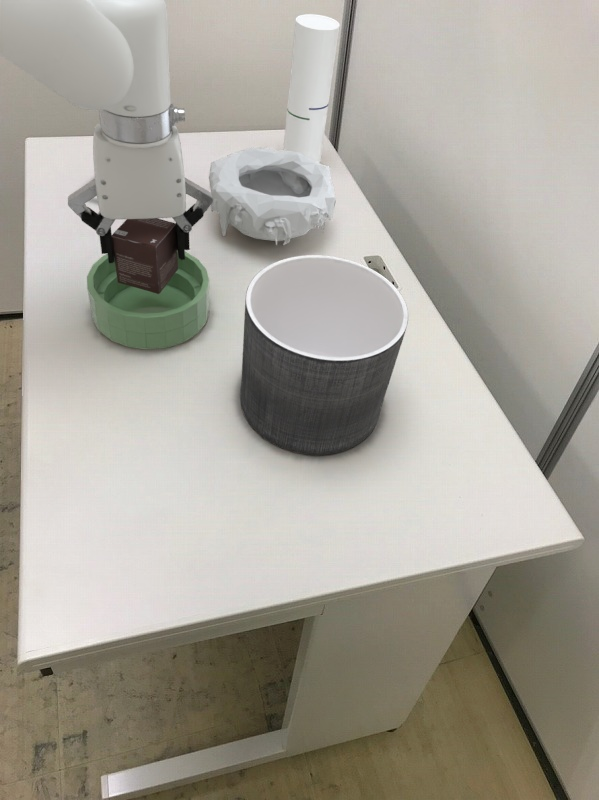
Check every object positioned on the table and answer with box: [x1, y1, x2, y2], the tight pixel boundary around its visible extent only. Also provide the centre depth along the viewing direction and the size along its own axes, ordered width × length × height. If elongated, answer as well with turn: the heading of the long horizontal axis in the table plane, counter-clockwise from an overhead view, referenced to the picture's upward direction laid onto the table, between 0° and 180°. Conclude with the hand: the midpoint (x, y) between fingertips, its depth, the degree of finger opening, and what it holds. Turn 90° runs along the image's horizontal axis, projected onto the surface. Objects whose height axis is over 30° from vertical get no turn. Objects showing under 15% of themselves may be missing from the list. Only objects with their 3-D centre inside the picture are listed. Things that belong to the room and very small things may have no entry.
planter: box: [239, 254, 409, 456], centre depth 75 cm, size 18×18×16 cm
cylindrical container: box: [282, 13, 341, 164], centre depth 112 cm, size 7×7×25 cm
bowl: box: [208, 146, 337, 246], centre depth 103 cm, size 21×20×10 cm
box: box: [112, 218, 178, 294], centre depth 81 cm, size 6×6×7 cm
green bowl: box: [86, 251, 210, 350], centre depth 87 cm, size 16×16×6 cm
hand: (146, 254), depth 82 cm, fingers closed on box, 8 cm apart
